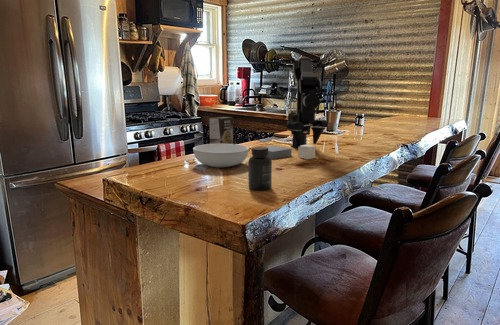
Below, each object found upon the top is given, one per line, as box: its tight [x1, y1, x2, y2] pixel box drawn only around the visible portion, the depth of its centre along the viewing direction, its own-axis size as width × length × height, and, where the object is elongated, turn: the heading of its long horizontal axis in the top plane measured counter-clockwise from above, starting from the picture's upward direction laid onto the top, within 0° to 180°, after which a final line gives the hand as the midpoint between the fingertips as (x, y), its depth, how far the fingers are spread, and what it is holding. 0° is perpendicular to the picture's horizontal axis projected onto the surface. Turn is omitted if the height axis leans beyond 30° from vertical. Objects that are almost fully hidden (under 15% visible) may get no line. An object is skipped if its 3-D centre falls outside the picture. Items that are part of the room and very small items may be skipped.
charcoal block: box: [266, 145, 293, 160], centre depth 155 cm, size 11×11×4 cm
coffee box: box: [209, 116, 234, 144], centre depth 157 cm, size 9×6×16 cm
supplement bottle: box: [247, 146, 273, 192], centre depth 106 cm, size 7×7×12 cm
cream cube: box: [297, 144, 316, 160], centre depth 151 cm, size 5×5×5 cm
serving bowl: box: [192, 143, 250, 169], centre depth 137 cm, size 21×21×7 cm
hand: (306, 145), depth 150 cm, fingers open, 9 cm apart
